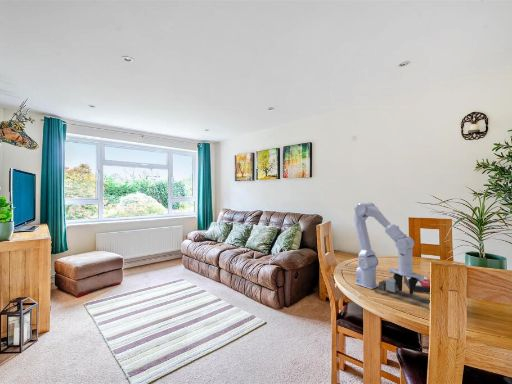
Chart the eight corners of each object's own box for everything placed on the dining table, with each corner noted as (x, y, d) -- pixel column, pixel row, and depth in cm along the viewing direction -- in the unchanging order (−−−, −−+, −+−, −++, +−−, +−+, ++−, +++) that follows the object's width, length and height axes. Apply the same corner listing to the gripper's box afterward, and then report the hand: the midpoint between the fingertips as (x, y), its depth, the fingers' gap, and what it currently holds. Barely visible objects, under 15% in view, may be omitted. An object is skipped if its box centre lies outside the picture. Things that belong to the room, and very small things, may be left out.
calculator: (410, 284, 122) (403, 273, 136) (410, 292, 122) (403, 281, 136) (436, 287, 118) (426, 275, 132) (436, 295, 118) (426, 283, 132)
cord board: (374, 292, 121) (374, 283, 121) (384, 287, 127) (384, 278, 127) (434, 311, 101) (434, 300, 101) (442, 304, 107) (442, 294, 107)
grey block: (385, 289, 119) (385, 279, 119) (391, 287, 122) (391, 277, 122) (394, 292, 115) (394, 281, 115) (399, 289, 119) (399, 279, 119)
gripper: (385, 261, 118) (386, 289, 117) (419, 268, 106) (420, 299, 106) (392, 258, 122) (392, 286, 122) (425, 265, 110) (426, 295, 110)
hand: (405, 292), depth 114 cm, fingers open, 4 cm apart
